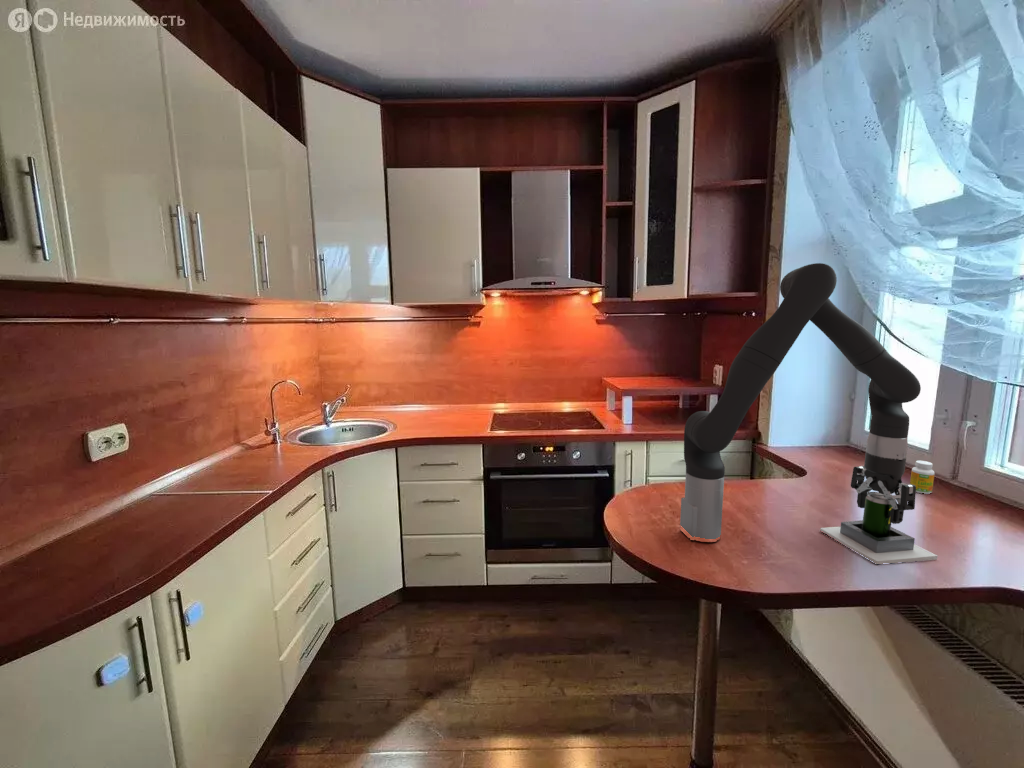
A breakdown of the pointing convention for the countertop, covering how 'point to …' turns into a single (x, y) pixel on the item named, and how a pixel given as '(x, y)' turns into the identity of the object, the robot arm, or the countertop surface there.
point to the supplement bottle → (922, 477)
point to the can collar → (877, 545)
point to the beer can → (877, 515)
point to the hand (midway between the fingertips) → (878, 514)
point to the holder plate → (881, 558)
